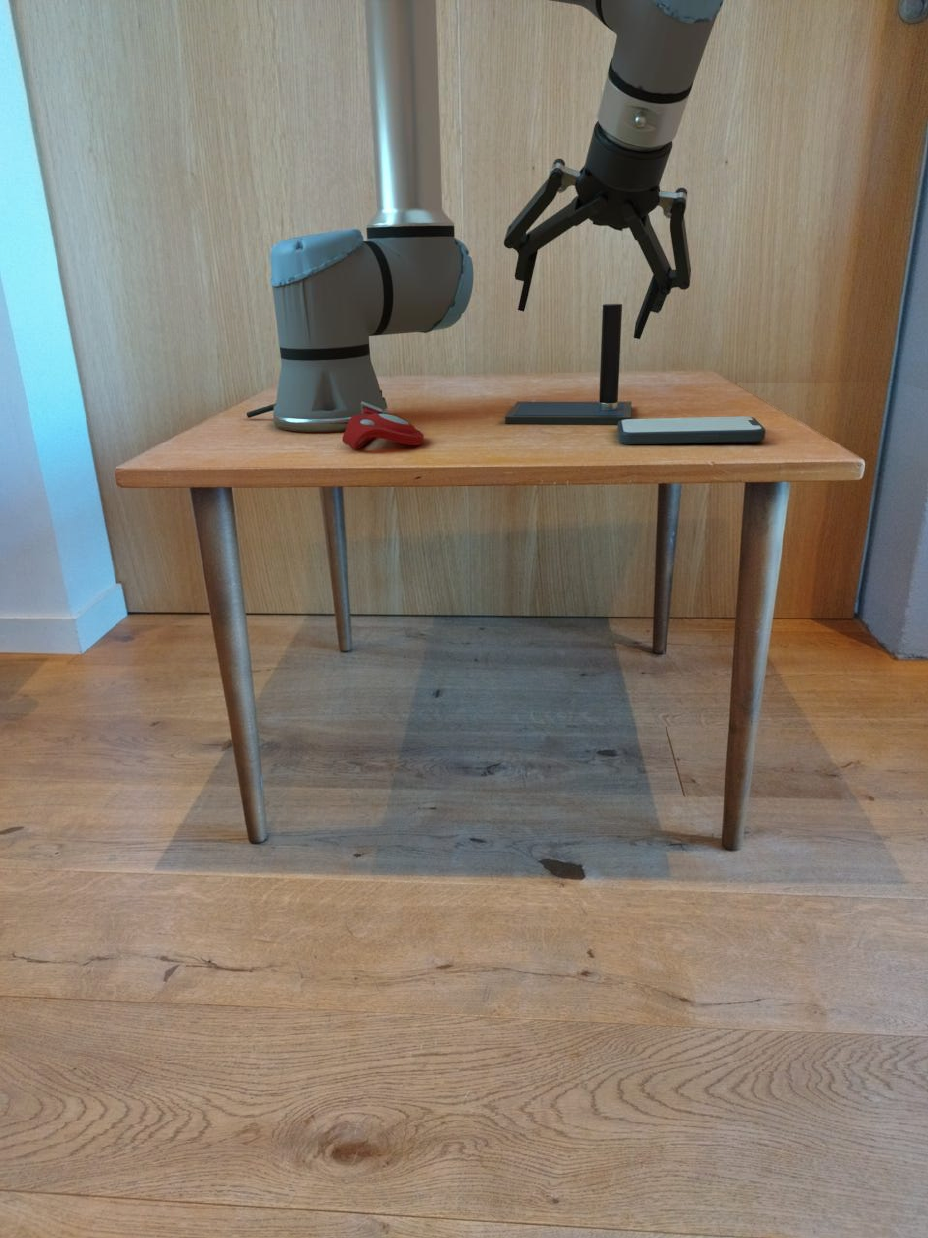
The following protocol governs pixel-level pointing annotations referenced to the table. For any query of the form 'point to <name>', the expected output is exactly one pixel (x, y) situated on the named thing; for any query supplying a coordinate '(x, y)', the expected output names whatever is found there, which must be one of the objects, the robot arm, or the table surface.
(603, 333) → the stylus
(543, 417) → the tablet
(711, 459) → the table surface
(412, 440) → the red curved piece
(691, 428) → the phone case
